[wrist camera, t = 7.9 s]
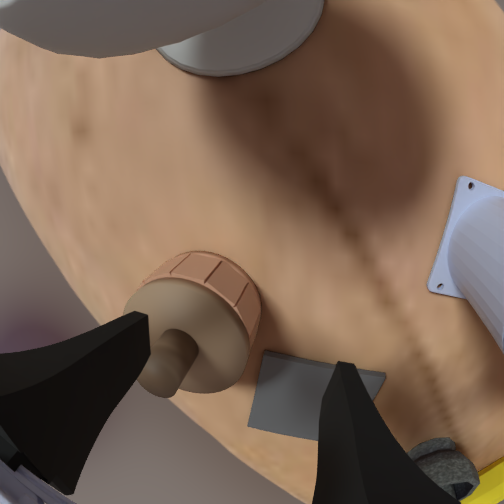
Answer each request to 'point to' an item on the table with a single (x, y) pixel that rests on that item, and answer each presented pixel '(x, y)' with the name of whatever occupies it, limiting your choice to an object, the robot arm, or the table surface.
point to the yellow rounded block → (489, 485)
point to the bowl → (217, 283)
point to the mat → (296, 394)
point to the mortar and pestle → (446, 467)
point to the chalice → (168, 29)
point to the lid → (189, 338)
